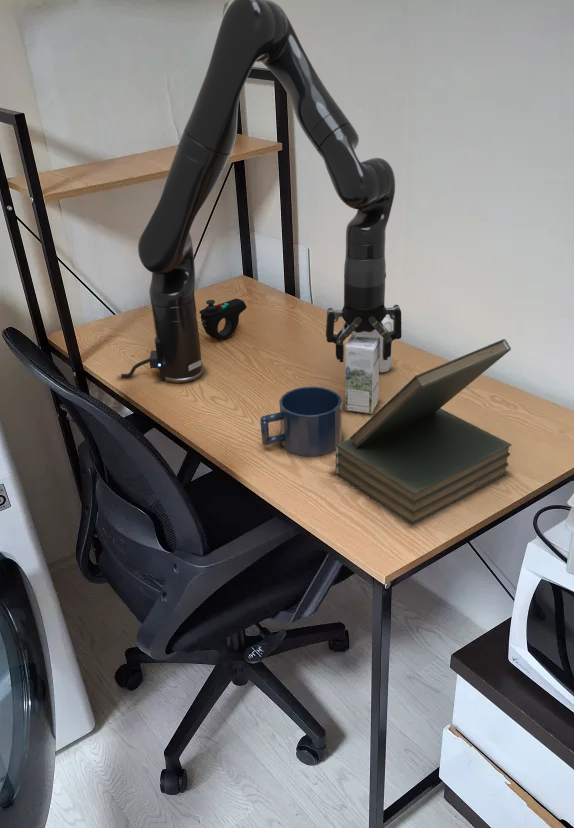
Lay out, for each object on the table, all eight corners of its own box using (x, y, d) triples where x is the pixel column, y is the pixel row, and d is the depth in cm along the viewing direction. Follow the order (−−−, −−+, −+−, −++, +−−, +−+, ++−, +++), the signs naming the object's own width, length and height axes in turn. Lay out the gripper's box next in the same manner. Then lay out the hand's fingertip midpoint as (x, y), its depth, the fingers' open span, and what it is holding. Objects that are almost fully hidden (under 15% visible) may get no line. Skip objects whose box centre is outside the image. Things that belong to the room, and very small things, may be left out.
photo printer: (347, 360, 176) (348, 308, 169) (361, 354, 178) (362, 302, 171) (380, 375, 169) (381, 321, 162) (394, 369, 171) (396, 315, 164)
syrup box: (378, 401, 160) (381, 335, 151) (371, 415, 155) (373, 348, 147) (351, 398, 161) (352, 332, 153) (344, 412, 157) (344, 345, 148)
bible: (427, 431, 150) (437, 306, 135) (507, 474, 137) (528, 342, 122) (335, 473, 139) (334, 343, 124) (412, 525, 126) (422, 386, 111)
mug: (326, 420, 154) (326, 381, 149) (351, 448, 146) (351, 407, 141) (252, 438, 150) (249, 398, 145) (273, 467, 142) (271, 426, 137)
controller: (199, 342, 187) (195, 302, 181) (239, 327, 193) (236, 287, 188) (210, 347, 184) (206, 307, 178) (250, 331, 191) (247, 292, 185)
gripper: (400, 269, 146) (396, 349, 155) (324, 273, 145) (325, 353, 155) (406, 283, 139) (402, 366, 149) (327, 287, 139) (327, 370, 149)
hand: (362, 359), depth 152 cm, fingers open, 8 cm apart
